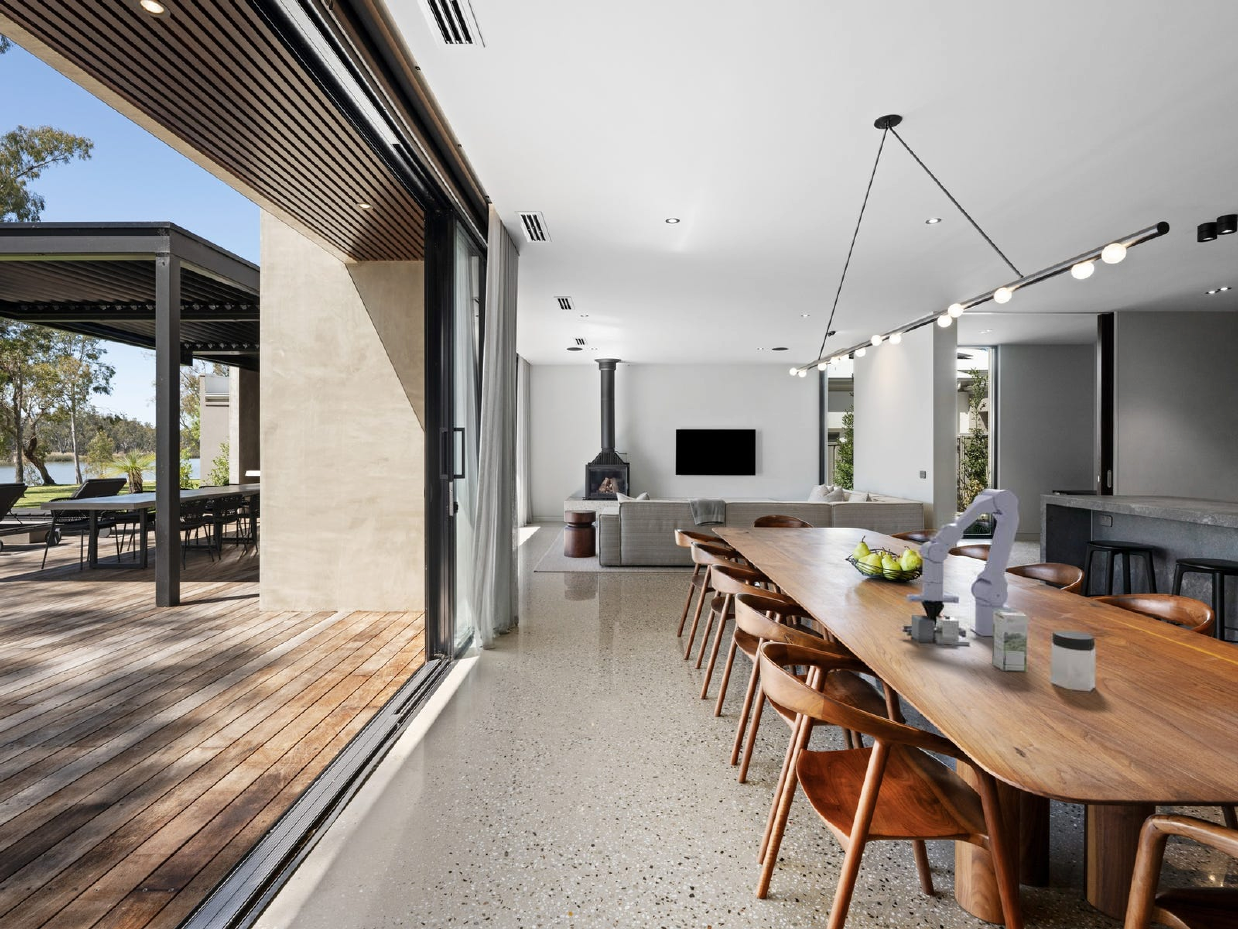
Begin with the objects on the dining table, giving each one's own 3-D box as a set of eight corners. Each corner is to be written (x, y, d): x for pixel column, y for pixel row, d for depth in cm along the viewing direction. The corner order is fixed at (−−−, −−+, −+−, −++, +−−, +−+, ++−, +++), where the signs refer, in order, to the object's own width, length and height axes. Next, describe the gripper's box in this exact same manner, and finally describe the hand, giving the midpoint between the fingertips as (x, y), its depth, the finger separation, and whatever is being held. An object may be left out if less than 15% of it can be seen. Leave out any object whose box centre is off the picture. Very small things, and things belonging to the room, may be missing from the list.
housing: (952, 635, 191) (952, 614, 191) (958, 639, 186) (958, 618, 186) (936, 634, 191) (936, 614, 191) (942, 639, 187) (942, 618, 187)
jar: (1056, 689, 150) (1057, 637, 149) (1045, 677, 157) (1045, 628, 157) (1102, 693, 147) (1102, 641, 147) (1088, 681, 155) (1088, 631, 155)
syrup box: (1015, 665, 167) (1015, 609, 167) (1027, 672, 161) (1028, 614, 161) (991, 664, 167) (992, 608, 167) (1003, 671, 161) (1003, 614, 161)
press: (960, 631, 198) (960, 610, 198) (981, 646, 183) (982, 623, 183) (903, 630, 200) (903, 609, 200) (920, 644, 185) (920, 621, 185)
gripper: (952, 579, 200) (951, 623, 200) (903, 578, 201) (903, 621, 201) (962, 584, 193) (961, 629, 193) (911, 582, 194) (911, 627, 194)
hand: (932, 625), depth 197 cm, fingers closed
